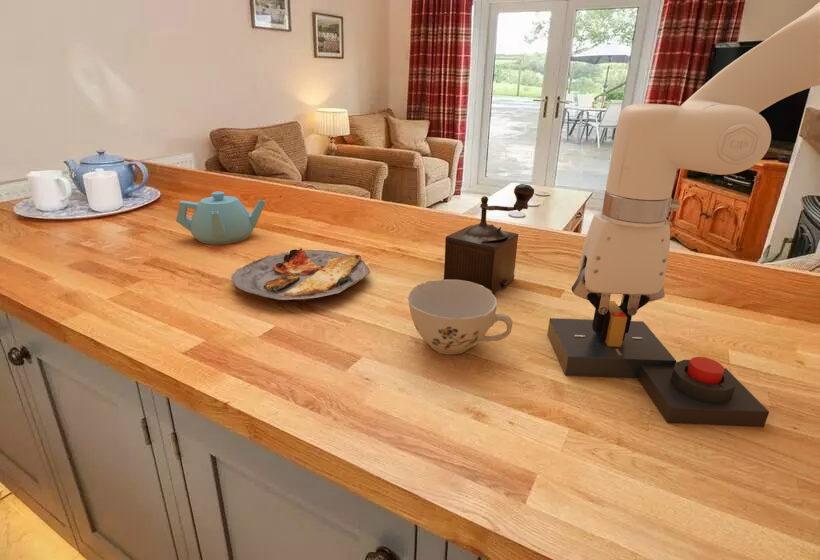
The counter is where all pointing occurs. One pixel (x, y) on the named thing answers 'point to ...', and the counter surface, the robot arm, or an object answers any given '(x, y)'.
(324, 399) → the counter surface
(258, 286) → the food plate
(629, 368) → the panel
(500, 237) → the manual coffee grinder
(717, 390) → the button block
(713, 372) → the button
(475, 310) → the teacup
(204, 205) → the teapot
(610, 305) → the red-tipped wooden block
